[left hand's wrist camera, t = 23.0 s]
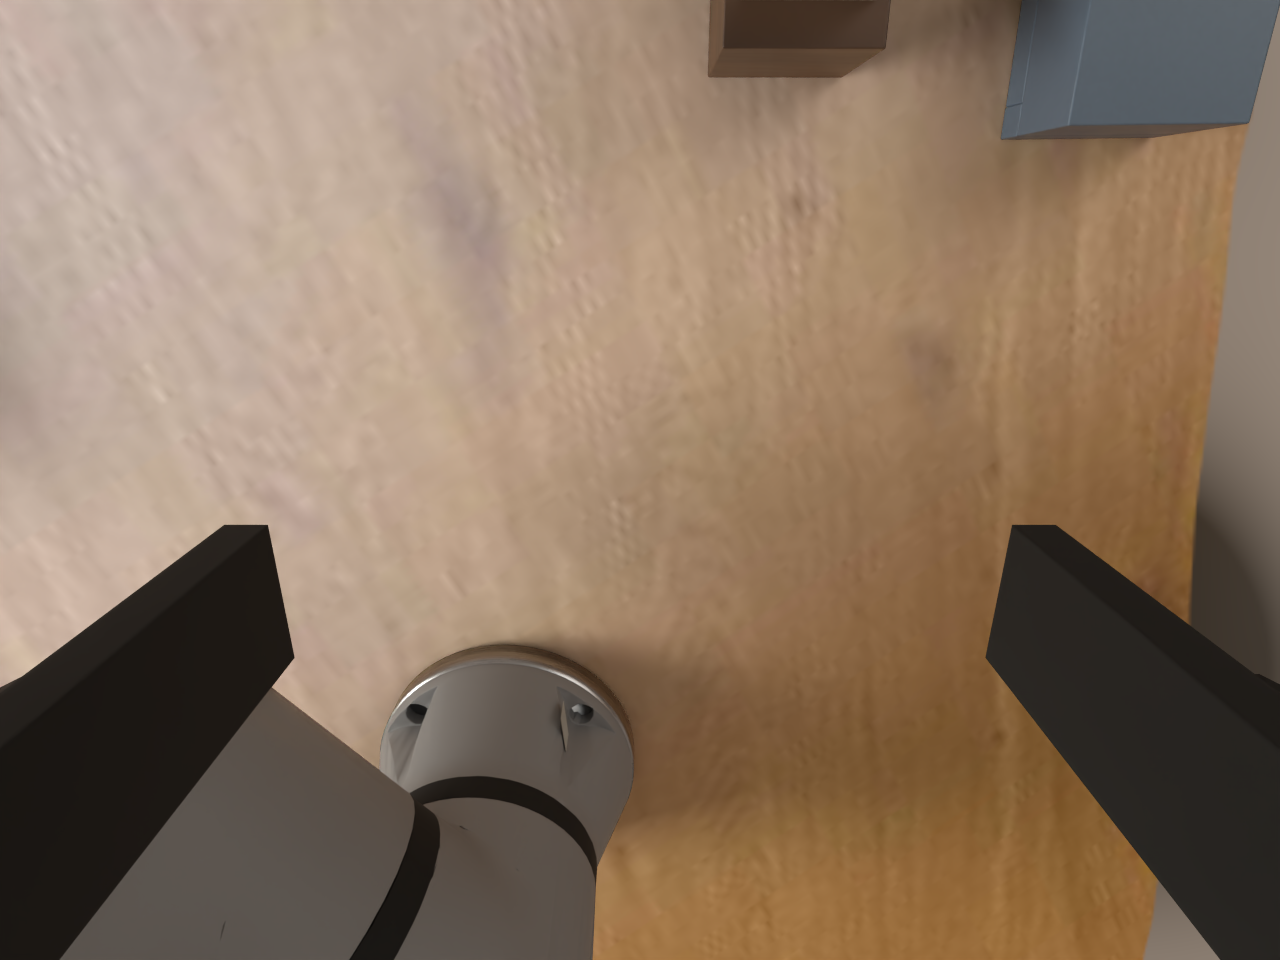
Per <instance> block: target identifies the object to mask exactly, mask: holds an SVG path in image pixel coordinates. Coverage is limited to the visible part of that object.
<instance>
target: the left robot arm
mask: <svg viewBox="0 0 1280 960" xmlns="http://www.w3.org/2000/svg"><path fill="white" fill-rule="evenodd" d="M293 659H294V653H293V648H292V643H291V638H290V633H289V628H288V623H287V618H286V613H285V608H284V603H283V598H282V593H281V588H280V583H279V578H278V573H277V568H276V563H275V558H274V553H273V548H272V543H271V539H270V534H269V529H268V525H224V526H222V527H221V528H220V529H218V530H217V531H216V532H214V533H213V534H212V535H210V536H209V537H208V538H206V539H205V540H204V541H202V542H201V543H200V544H198V545H197V546H196V547H194V548H193V549H192V550H190V551H189V552H188V553H186V554H185V555H184V556H182V557H181V558H180V559H178V560H177V561H176V562H174V563H173V564H172V565H170V566H169V567H168V568H166V569H165V570H164V571H162V572H161V573H160V574H158V575H157V576H156V577H154V578H153V579H152V580H150V581H149V582H148V583H146V584H145V585H144V586H142V587H141V588H140V589H138V590H137V591H136V592H134V593H133V594H132V595H130V596H129V597H128V598H126V599H125V600H124V601H122V602H121V603H120V604H118V605H117V606H116V607H114V608H113V609H112V610H110V611H109V612H108V613H106V614H105V615H104V616H102V617H101V618H100V619H98V620H97V621H96V622H94V623H93V624H92V625H90V626H89V627H88V628H86V629H85V630H84V631H82V632H81V633H80V634H78V635H77V636H76V637H74V638H73V639H72V640H70V641H69V642H68V643H66V644H65V645H64V646H62V647H61V648H60V649H58V650H57V651H56V652H54V653H53V654H52V655H50V656H49V657H48V658H46V659H45V660H44V661H42V662H41V663H40V664H38V665H37V666H36V667H34V668H33V669H32V670H30V671H29V672H28V673H26V674H25V675H24V676H22V677H20V678H18V679H16V680H14V681H12V682H10V683H8V684H6V685H4V686H2V687H0V960H592V958H593V936H594V914H595V892H596V875H597V866H598V864H599V862H600V859H601V857H602V855H603V853H604V851H605V848H606V846H607V844H608V842H609V840H610V837H611V835H612V833H613V831H614V829H615V826H616V824H617V822H618V820H619V818H620V815H621V813H622V811H623V809H624V807H625V804H626V802H627V800H628V798H629V795H630V791H631V788H632V782H633V773H634V742H633V735H632V730H631V727H630V723H629V720H628V718H627V716H626V713H625V711H624V709H623V708H622V706H621V704H620V702H619V701H618V700H617V698H616V697H615V696H614V694H613V693H612V692H611V691H610V689H609V688H608V687H607V686H606V685H605V684H604V683H603V682H602V681H601V680H599V679H598V678H597V677H596V676H595V675H593V674H592V673H591V672H589V671H588V670H587V669H585V668H583V667H582V666H580V665H578V664H577V663H575V662H573V661H571V660H569V659H567V658H565V657H562V656H560V655H557V654H554V653H551V652H548V651H545V650H541V649H536V648H532V647H525V646H517V645H491V646H483V647H477V648H472V649H468V650H464V651H461V652H458V653H455V654H452V655H450V656H448V657H445V658H443V659H441V660H440V661H438V662H436V663H434V664H433V665H431V666H430V667H428V668H427V669H425V670H424V671H423V672H422V673H420V674H419V675H418V676H417V677H416V678H415V679H414V680H413V681H412V682H411V683H410V684H409V685H408V687H407V688H406V689H405V691H404V692H403V694H402V695H401V697H400V699H399V700H398V702H397V704H396V706H395V708H394V710H393V712H392V714H391V716H390V718H389V720H388V723H387V725H386V727H385V730H384V733H383V737H382V741H381V747H380V770H378V769H377V768H376V767H375V766H373V765H372V764H371V763H369V762H368V761H367V760H365V759H364V758H363V757H361V756H360V755H359V754H358V753H356V752H355V751H354V750H352V749H351V748H350V747H348V746H347V745H346V744H345V743H343V742H342V741H341V740H339V739H338V738H337V737H335V736H334V735H333V734H332V733H330V732H329V731H328V730H326V729H325V728H324V727H322V726H321V725H320V724H319V723H317V722H316V721H315V720H313V719H312V718H311V717H309V716H308V715H307V714H306V713H304V712H303V711H302V710H300V709H299V708H298V707H296V706H295V705H294V704H293V703H291V702H290V701H289V700H287V699H286V698H285V697H283V696H282V695H281V694H279V693H278V692H277V691H276V690H274V689H273V688H272V686H273V685H274V683H275V682H276V681H277V679H278V678H279V677H280V676H281V674H282V673H283V672H284V670H285V669H286V668H287V667H288V665H289V664H290V663H291V661H292V660H293ZM986 659H987V660H988V661H989V663H990V664H991V665H992V667H993V668H994V669H995V670H996V672H997V673H998V674H999V676H1000V677H1001V678H1002V679H1003V681H1004V682H1005V683H1006V685H1007V686H1008V687H1009V688H1010V690H1011V691H1012V692H1013V694H1014V695H1015V696H1016V697H1017V699H1018V700H1019V701H1020V703H1021V704H1022V705H1023V706H1024V708H1025V709H1026V710H1027V712H1028V713H1029V714H1030V715H1031V717H1032V718H1033V719H1034V721H1035V722H1036V723H1037V724H1038V726H1039V727H1040V728H1041V730H1042V731H1043V732H1044V734H1045V735H1046V736H1047V737H1048V739H1049V740H1050V741H1051V743H1052V744H1053V745H1054V746H1055V748H1056V749H1057V750H1058V752H1059V753H1060V754H1061V755H1062V757H1063V758H1064V759H1065V761H1066V762H1067V763H1068V764H1069V766H1070V767H1071V768H1072V770H1073V771H1074V772H1075V773H1076V775H1077V776H1078V777H1079V779H1080V780H1081V781H1082V782H1083V784H1084V785H1085V786H1086V788H1087V789H1088V790H1089V791H1090V793H1091V794H1092V795H1093V797H1094V798H1095V799H1096V800H1097V802H1098V803H1099V804H1100V806H1101V807H1102V808H1103V809H1104V811H1105V812H1106V813H1107V815H1108V816H1109V817H1110V818H1111V820H1112V821H1113V822H1114V824H1115V825H1116V826H1117V827H1118V829H1119V830H1120V831H1121V833H1122V834H1123V835H1124V836H1125V838H1126V839H1127V840H1128V842H1129V843H1130V844H1131V845H1132V847H1133V848H1134V849H1135V851H1136V852H1137V853H1138V854H1139V856H1140V857H1141V858H1142V860H1143V861H1144V862H1145V863H1146V865H1147V866H1148V867H1149V869H1150V870H1151V871H1152V872H1153V874H1154V875H1155V876H1156V878H1157V879H1158V880H1159V881H1160V883H1161V884H1162V885H1163V886H1164V888H1165V889H1166V890H1167V892H1168V893H1169V894H1170V896H1171V897H1172V898H1173V899H1174V901H1175V902H1176V903H1177V905H1178V906H1179V907H1180V908H1181V910H1182V911H1183V912H1184V914H1185V915H1186V916H1187V917H1188V919H1189V920H1190V921H1191V923H1192V924H1193V925H1194V926H1195V928H1196V929H1197V930H1198V932H1199V933H1200V934H1201V935H1202V937H1203V938H1204V939H1205V941H1206V942H1207V943H1208V944H1209V946H1210V947H1211V948H1212V949H1213V951H1214V952H1215V953H1216V955H1217V956H1218V957H1219V959H1220V960H1280V684H1278V683H1276V682H1274V681H1272V680H1270V679H1268V678H1266V677H1264V676H1262V675H1260V674H1254V673H1252V672H1251V671H1250V670H1248V669H1247V668H1246V667H1244V666H1243V665H1242V664H1240V663H1239V662H1238V661H1236V660H1235V659H1234V658H1232V657H1231V656H1230V655H1228V654H1227V653H1226V652H1224V651H1223V650H1222V649H1220V648H1219V647H1218V646H1216V645H1215V644H1214V643H1212V642H1211V641H1210V640H1208V639H1207V638H1206V637H1204V636H1203V635H1202V634H1200V633H1199V632H1198V631H1196V630H1195V629H1194V628H1192V627H1191V626H1190V625H1188V624H1187V623H1186V622H1184V621H1183V620H1182V619H1180V618H1179V617H1178V616H1176V615H1175V614H1174V613H1172V612H1171V611H1170V610H1168V609H1167V608H1166V607H1164V606H1163V605H1162V604H1160V603H1159V602H1158V601H1156V600H1155V599H1154V598H1152V597H1151V596H1150V595H1148V594H1147V593H1146V592H1144V591H1143V590H1142V589H1140V588H1139V587H1138V586H1136V585H1135V584H1134V583H1132V582H1131V581H1130V580H1128V579H1127V578H1126V577H1124V576H1123V575H1122V574H1120V573H1119V572H1118V571H1116V570H1115V569H1114V568H1112V567H1111V566H1110V565H1108V564H1107V563H1106V562H1104V561H1103V560H1102V559H1100V558H1099V557H1098V556H1096V555H1095V554H1094V553H1092V552H1091V551H1090V550H1088V549H1087V548H1086V547H1084V546H1083V545H1082V544H1080V543H1079V542H1078V541H1076V540H1075V539H1074V538H1072V537H1071V536H1070V535H1068V534H1067V533H1066V532H1064V531H1063V530H1062V529H1060V528H1059V527H1058V526H1056V525H1012V529H1011V534H1010V539H1009V543H1008V548H1007V553H1006V558H1005V563H1004V568H1003V573H1002V578H1001V583H1000V588H999V593H998V598H997V603H996V608H995V613H994V618H993V623H992V628H991V633H990V638H989V643H988V648H987V653H986Z"/></svg>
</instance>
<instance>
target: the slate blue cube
mask: <svg viewBox="0 0 1280 960" xmlns="http://www.w3.org/2000/svg"><path fill="white" fill-rule="evenodd" d="M1279 6H1280V0H1022V4H1021V11H1020V18H1019V24H1018V31H1017V38H1016V44H1015V51H1014V57H1013V64H1012V71H1011V77H1010V84H1009V90H1008V97H1007V104H1006V107H1008V108H1006V109H1005V115H1004V122H1003V128H1002V135H1001V139H1002V140H1006V139H1084V138H1154V137H1161V136H1167V135H1174V134H1180V133H1187V132H1194V131H1201V130H1207V129H1214V128H1221V127H1228V126H1235V125H1241V124H1247V123H1249V121H1250V117H1251V113H1252V110H1253V106H1254V102H1255V98H1256V94H1257V90H1258V87H1259V83H1260V79H1261V75H1262V71H1263V67H1264V63H1265V60H1266V56H1267V52H1268V48H1269V44H1270V40H1271V37H1272V33H1273V28H1274V25H1275V21H1276V17H1277V13H1278V10H1279Z"/></svg>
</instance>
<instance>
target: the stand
mask: <svg viewBox="0 0 1280 960" xmlns="http://www.w3.org/2000/svg"><path fill="white" fill-rule="evenodd" d="M890 1H891V0H710V28H709V60H708V77H843V76H844V75H846V74H847V73H849V72H850V71H852V70H853V69H855V68H856V67H858V66H859V65H861V64H862V63H864V62H865V61H867V60H868V59H870V58H871V57H873V56H874V55H876V54H877V53H879V52H880V51H882V50H883V49H885V47H886V39H887V29H888V20H889V11H890Z"/></svg>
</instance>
